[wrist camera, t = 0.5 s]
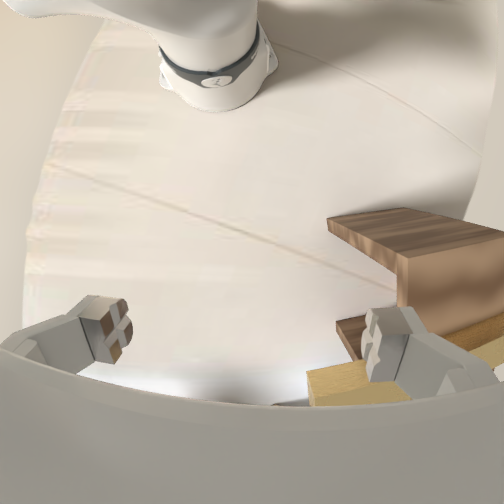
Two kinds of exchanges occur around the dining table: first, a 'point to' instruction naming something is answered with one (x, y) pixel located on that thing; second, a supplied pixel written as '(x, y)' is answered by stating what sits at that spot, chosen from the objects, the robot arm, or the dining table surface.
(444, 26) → the dining table surface
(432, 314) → the walnut stand
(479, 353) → the brass bar
